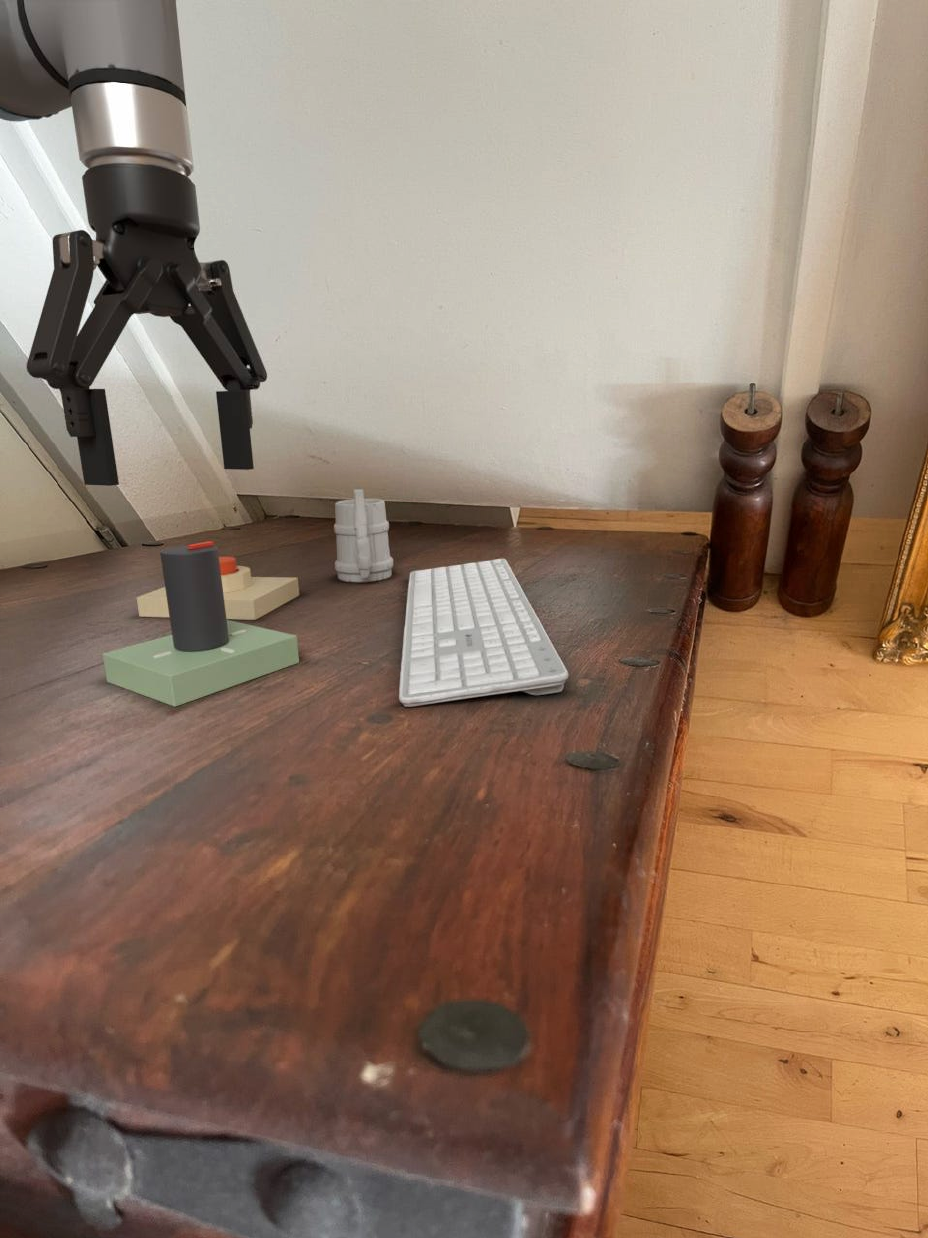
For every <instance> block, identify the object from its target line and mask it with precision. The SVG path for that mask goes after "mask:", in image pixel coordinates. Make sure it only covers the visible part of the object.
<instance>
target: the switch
mask: <svg viewBox="0 0 928 1238" xmlns="http://www.w3.org/2000/svg"><path fill="white" fill-rule="evenodd" d="M236 560H237V559H236V557H233V556H219V562H220V570H221V575H227V574H232V573H236V572H237V567H236V566H237V561H236Z"/></svg>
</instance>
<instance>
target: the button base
mask: <svg viewBox="0 0 928 1238" xmlns="http://www.w3.org/2000/svg"><path fill="white" fill-rule="evenodd" d="M236 567H237V572H236V573H232V574H227V575H221V578H222V586H223V594H224V603H225V611H226V619H227V620H240V621H241V620H243V621H256V620H259V619H260V618H262V617H263V616H265V615H267V614H269V613H270V612H272V611H274V610H276V609H278V608H280V607H281V606H283V605H285V604H286V603H287V604H288V602H290V601H292V600H294V599H296V598H298V597H299V596H300V587H299V579H298V577H288V576H287V577H283V576H281V577H280V576H279V577H278V576H277V577H276V576H252V575H251V574H252V573H251V568H250V567H248V566H243V565H236ZM136 602H137V603H136V604H137V609H138V610H137V611H138V616H139V617H140V618H168V619H170V617H169V610H168V603H167V596H166V589H165V586H163V587H161V588H158V589H156V590H153V591H149V592H148V593H147V592H146V593H145V594H142V595H140V596H136Z"/></svg>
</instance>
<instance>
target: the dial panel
mask: <svg viewBox="0 0 928 1238" xmlns="http://www.w3.org/2000/svg"><path fill="white" fill-rule="evenodd" d="M227 627H228V635H229V641H228V643H226V644H225V645H223V646H220V647H217V648H214V649H209V650H203V651H180V650H177V649H175V648H174V644H173V638H172V634H170V635H169V634H168V635H166V636H162V637H159V638H154V639H150V640H147V641H143V642H140V643H137V644H133V645H129V646H126V647H122V648H117V649H114V650H110V651H107V652H104V653H102V659H103V665H104V671H105V677H106V682H107V683H108V684H112V685H114V686H117V687H120V688H123V689H125V690H127V691H130V692H133V693H136V694H138V695H141V696H145V697H147V698H150V699H152V700H155V701H157V702H161V703H163V704H166V705H169V706H171V707H173V708H175V707H178V706H181V705H184V704H187V703H190V702H192V701H195V700H198V699H202V698H204V697H207V696H210V695H212V694H215V693H218V692H221V691H224V690H227V689H229V688H232V687H235V686H238V685H241V684H244V683H246V682H249V681H252V680H255V679H257V678H261V677H263V676H266V675H268V674H272V673H274V672H277V671H280V670H283V669H285V668H288V667H291V666H294V665H297V664H299V663H300V656H299V644H298V637H297V635H296V634H291V633H287V632H283V631H279V630H273V629H269V628H265V627H261V626H257V625H251V624H247V623H243V622H239V621H235V620H231V619H227Z"/></svg>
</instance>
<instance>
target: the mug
mask: <svg viewBox="0 0 928 1238" xmlns="http://www.w3.org/2000/svg"><path fill="white" fill-rule="evenodd" d="M364 494H365V490H364V489H359V488H358V489H356V488H355V489H353V499H344V500H340V501H336V502H335V503H334V515H335V516H334V517H335V523H333V524H334V525H333V532H334V533H335V536H336V537H335V539H336V541H335V542H336V560H335V561H334V569H335V571H336V572H337V578H338V579H339V580H340V581H343V582H347V583H370V582H377V581H382V580H386V579H388V578H391V577H392V573H393V572H392V569H393V567H394V558H393V557H392V556H391V552H390V546H389V543H390V542H389V541H390V540H389V533H388V532H389V529H390V523H389V521H388V520H387V513H386V503H385V500H383V499H380V498H365V495H364Z"/></svg>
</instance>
